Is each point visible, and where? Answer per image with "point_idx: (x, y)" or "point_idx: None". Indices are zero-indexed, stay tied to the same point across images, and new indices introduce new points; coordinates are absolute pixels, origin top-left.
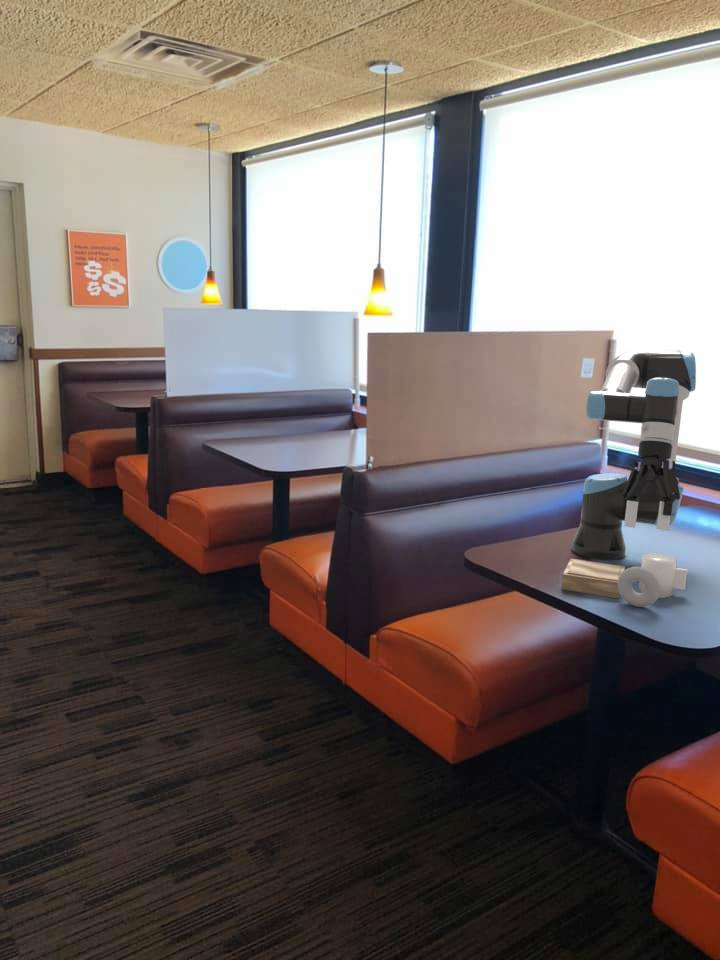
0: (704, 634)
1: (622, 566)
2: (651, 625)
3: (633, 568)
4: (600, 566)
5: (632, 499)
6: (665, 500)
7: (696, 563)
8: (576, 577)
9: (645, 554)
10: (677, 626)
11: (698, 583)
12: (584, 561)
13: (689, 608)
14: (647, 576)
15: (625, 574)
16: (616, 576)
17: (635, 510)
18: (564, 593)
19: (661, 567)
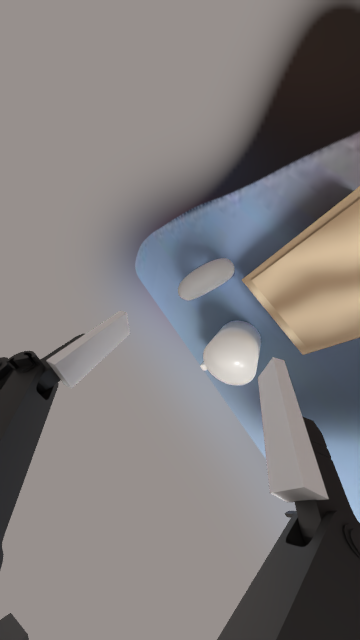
0: (149, 286)
1: (306, 351)
2: (172, 254)
3: (197, 272)
4: (337, 310)
5: (306, 518)
6: (33, 360)
7: None
8: (328, 211)
9: (254, 365)
10: (165, 278)
11: (234, 398)
12: None
13: (190, 326)
14: (181, 281)
15: (209, 262)
16: (265, 293)
17: (268, 435)
18: (326, 186)
19: (210, 341)
